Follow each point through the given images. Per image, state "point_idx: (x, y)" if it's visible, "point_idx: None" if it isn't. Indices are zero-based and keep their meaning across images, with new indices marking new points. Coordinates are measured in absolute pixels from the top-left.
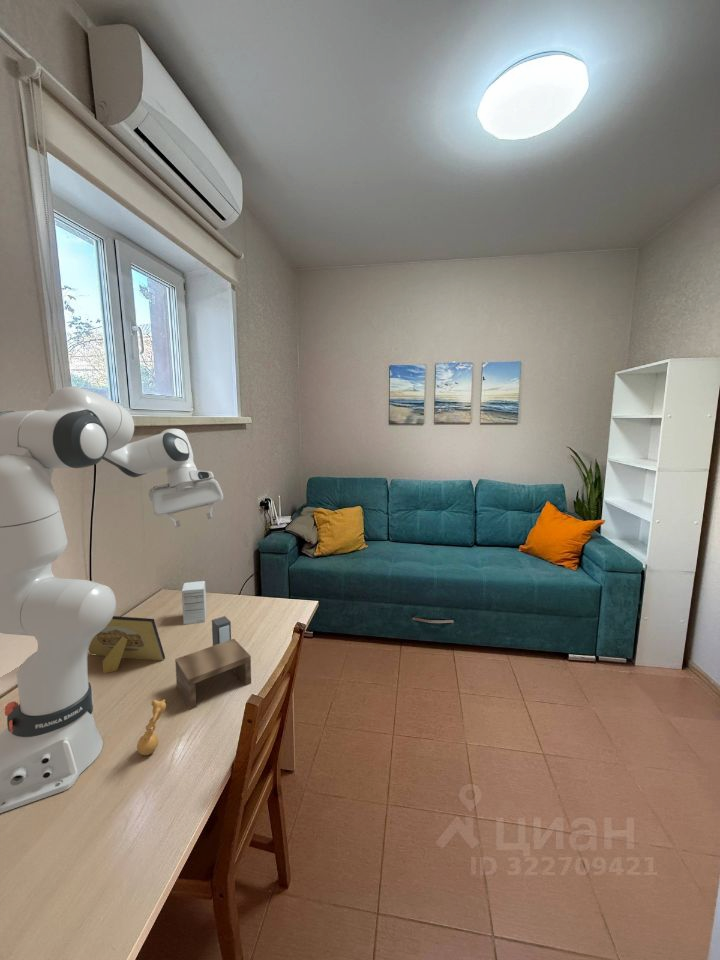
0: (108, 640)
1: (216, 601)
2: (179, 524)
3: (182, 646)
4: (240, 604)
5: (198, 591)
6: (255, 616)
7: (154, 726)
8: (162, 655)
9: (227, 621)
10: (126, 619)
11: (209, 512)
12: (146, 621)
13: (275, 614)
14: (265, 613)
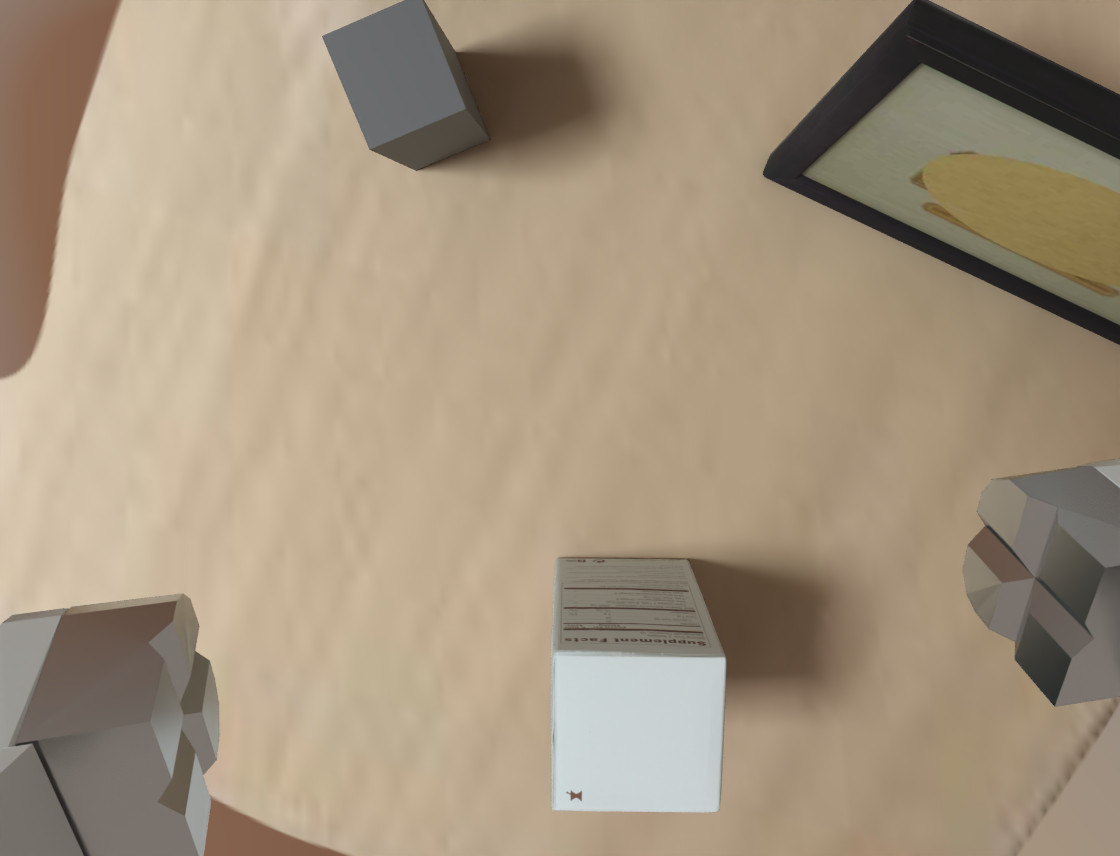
0: None
1: (497, 825)
2: (1028, 486)
3: (674, 284)
4: (337, 737)
5: (595, 644)
6: (236, 539)
7: None
8: (780, 145)
9: (345, 44)
10: (1113, 96)
11: (14, 760)
12: (957, 16)
13: (103, 529)
14: (170, 562)
